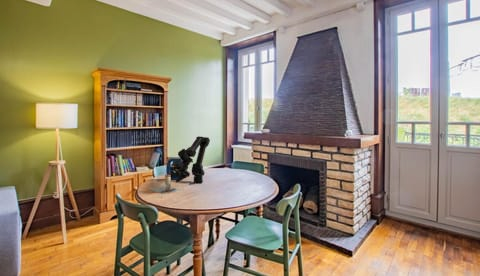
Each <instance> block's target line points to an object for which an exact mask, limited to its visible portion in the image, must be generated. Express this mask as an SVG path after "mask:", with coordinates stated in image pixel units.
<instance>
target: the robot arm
mask: <svg viewBox="0 0 480 276" xmlns="http://www.w3.org/2000/svg"><path fill="white" fill-rule="evenodd" d="M210 141H211V140H210V137H206V136H196V137H195V140H194V141H193V142H192V144H191V146H189V147H187V149H186V148H182V149H181V150H179V151H178V152H177V155H178V156H177V157H180V158H181V160H183V161H182V162H174V161H173V162H171V167H170V168H169V169H170V177H171V179H172V178H173V177H174V176H176V175H177V173H178V172H179V173H180V175H179V177H178V179H177V180H175V183H176V184H177V183H179V182H181V181H182V180H184V179H186V178H189V177H190V175H191V174H192V176H193V184H202V183H203V182H204V180H203V179H204V177H203V176H205V170H204V166H203V161H204V157H205V152H206V149H207V147H208V146H209V145H210ZM198 148H199V149H198ZM197 149H198V154H197ZM196 155H197V156H196ZM195 156H196V162H195V163H194V160H193V159H194V158H195ZM191 163H193V164H192V165H191V166H192V167H191V173H190V172H189V171H188V170H187V169H189V165H190V164H191ZM174 166H175V167H176V168H177V169H176V168H175V167H174Z"/></svg>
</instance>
